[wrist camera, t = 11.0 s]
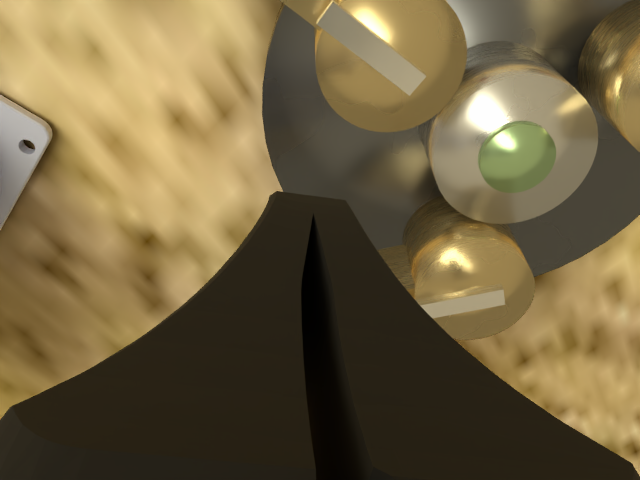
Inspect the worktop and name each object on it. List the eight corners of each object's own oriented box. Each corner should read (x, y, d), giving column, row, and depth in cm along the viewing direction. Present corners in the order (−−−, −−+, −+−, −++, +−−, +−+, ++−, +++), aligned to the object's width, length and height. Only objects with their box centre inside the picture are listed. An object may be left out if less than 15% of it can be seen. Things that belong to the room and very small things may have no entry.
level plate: (477, 323, 26) (506, 408, 22) (183, 138, 21) (156, 207, 17) (792, 55, 20) (907, 109, 16) (481, -297, 15) (541, -339, 11)
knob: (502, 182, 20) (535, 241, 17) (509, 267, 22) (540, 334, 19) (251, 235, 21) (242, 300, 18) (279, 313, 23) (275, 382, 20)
